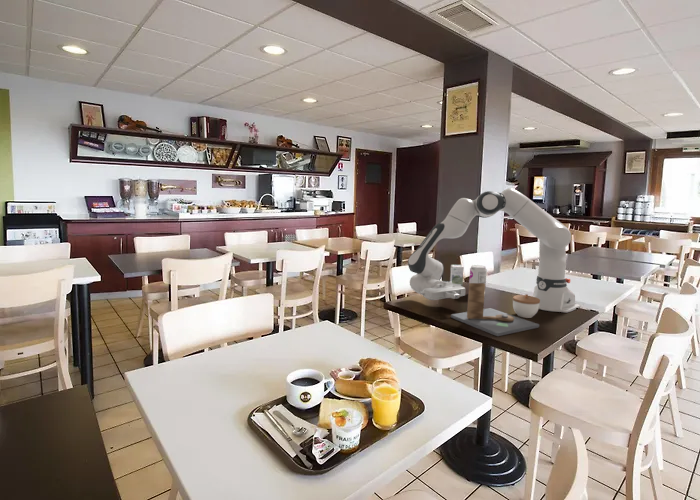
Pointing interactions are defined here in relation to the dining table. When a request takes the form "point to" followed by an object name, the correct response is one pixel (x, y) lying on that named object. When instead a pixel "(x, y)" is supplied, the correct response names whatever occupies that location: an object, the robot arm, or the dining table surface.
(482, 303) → the tuning key
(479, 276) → the supplement can
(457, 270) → the syrup box
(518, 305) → the lidded jar
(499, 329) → the board
